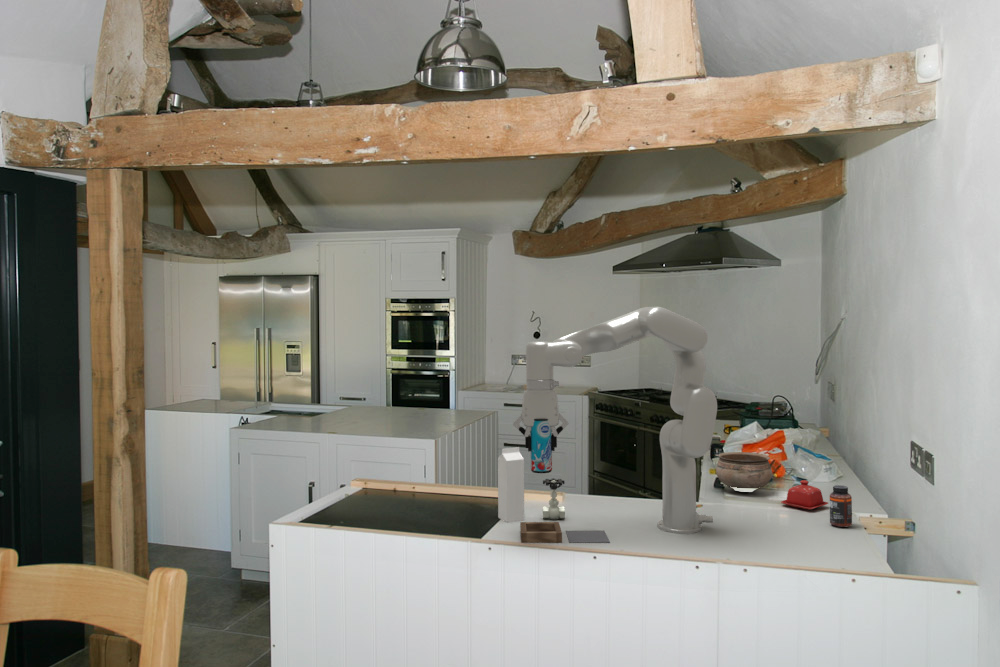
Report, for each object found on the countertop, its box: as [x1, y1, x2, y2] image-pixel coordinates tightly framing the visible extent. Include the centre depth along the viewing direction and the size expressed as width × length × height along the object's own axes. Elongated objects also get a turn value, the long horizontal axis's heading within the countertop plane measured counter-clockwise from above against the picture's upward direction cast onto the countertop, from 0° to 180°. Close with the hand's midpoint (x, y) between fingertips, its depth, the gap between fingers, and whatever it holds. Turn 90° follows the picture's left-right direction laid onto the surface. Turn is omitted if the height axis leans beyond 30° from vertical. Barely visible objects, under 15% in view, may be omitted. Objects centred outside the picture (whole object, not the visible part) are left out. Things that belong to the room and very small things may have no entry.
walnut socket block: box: [520, 521, 563, 544], centre depth 202 cm, size 11×11×3 cm
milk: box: [497, 446, 525, 523], centre depth 221 cm, size 6×6×22 cm
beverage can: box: [529, 419, 553, 474], centre depth 202 cm, size 6×6×15 cm
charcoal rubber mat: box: [565, 529, 611, 544], centre depth 202 cm, size 11×11×1 cm
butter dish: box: [780, 479, 829, 511], centre depth 236 cm, size 12×12×8 cm
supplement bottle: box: [829, 484, 853, 528], centre depth 214 cm, size 6×6×11 cm
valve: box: [542, 477, 566, 521], centre depth 221 cm, size 7×7×12 cm
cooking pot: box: [715, 451, 773, 488], centre depth 258 cm, size 25×19×12 cm
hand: (541, 449), depth 202 cm, fingers closed on beverage can, 5 cm apart
